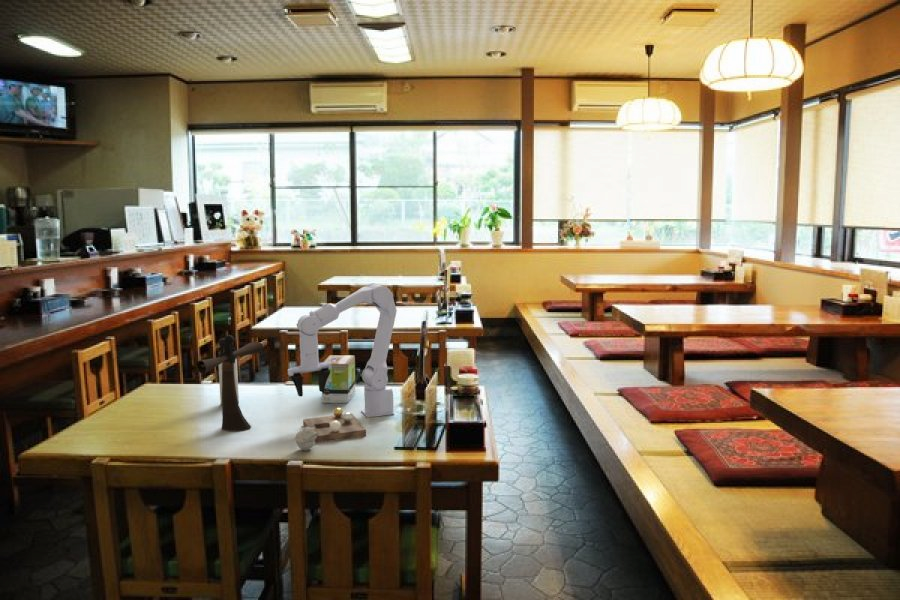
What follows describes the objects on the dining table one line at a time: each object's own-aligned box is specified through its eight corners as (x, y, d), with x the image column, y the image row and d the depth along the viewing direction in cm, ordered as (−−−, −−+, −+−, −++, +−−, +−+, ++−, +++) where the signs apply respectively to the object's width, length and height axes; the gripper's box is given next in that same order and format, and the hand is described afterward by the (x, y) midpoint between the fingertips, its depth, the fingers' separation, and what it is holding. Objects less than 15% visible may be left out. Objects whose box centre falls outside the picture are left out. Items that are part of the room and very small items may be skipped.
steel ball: (351, 420, 212) (351, 410, 211) (353, 423, 209) (353, 413, 208) (341, 421, 211) (341, 411, 210) (344, 424, 208) (343, 414, 207)
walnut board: (351, 419, 220) (351, 413, 219) (366, 435, 203) (366, 429, 203) (303, 425, 214) (303, 419, 213) (313, 443, 197) (313, 436, 197)
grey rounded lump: (308, 455, 187) (307, 431, 186) (290, 451, 191) (289, 427, 190) (323, 449, 192) (322, 425, 191) (305, 444, 196) (304, 422, 195)
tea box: (349, 403, 238) (348, 363, 236) (321, 403, 238) (320, 363, 236) (356, 392, 253) (355, 354, 251) (329, 392, 253) (328, 354, 251)
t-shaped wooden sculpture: (250, 412, 228) (246, 326, 224) (275, 414, 225) (271, 327, 221) (192, 442, 198) (186, 344, 194) (220, 445, 195) (215, 345, 191)
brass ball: (341, 414, 218) (341, 406, 217) (343, 417, 215) (343, 408, 214) (332, 416, 216) (332, 407, 216) (334, 418, 214) (334, 409, 213)
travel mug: (243, 403, 238) (240, 348, 236) (228, 408, 233) (225, 352, 230) (231, 400, 242) (229, 347, 239) (216, 405, 236) (213, 350, 233)
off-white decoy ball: (339, 429, 204) (339, 418, 203) (342, 432, 200) (341, 421, 200) (328, 430, 202) (328, 419, 202) (331, 433, 199) (330, 423, 199)
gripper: (323, 347, 221) (325, 387, 222) (282, 353, 212) (284, 395, 214) (333, 350, 215) (335, 391, 217) (292, 357, 206) (294, 399, 208)
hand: (311, 393), depth 215 cm, fingers open, 7 cm apart
